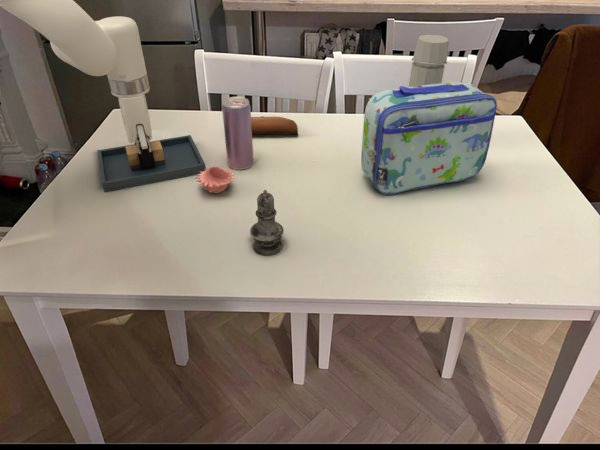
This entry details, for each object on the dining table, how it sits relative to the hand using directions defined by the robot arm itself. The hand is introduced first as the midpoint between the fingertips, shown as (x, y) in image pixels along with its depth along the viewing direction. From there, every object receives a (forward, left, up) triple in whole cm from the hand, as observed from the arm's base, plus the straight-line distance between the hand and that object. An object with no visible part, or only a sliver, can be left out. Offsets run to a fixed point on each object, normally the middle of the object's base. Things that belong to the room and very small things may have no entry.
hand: (146, 162), depth 105 cm
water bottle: (+64, -12, -1) cm, 65 cm away
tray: (+1, 0, -1) cm, 1 cm away
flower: (+12, -16, -1) cm, 20 cm away
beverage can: (+20, -7, -1) cm, 21 cm away
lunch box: (+54, -28, -1) cm, 61 cm away
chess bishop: (+16, -37, -1) cm, 40 cm away
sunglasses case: (+30, +7, -1) cm, 31 cm away
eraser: (0, 0, 0) cm, 0 cm away
